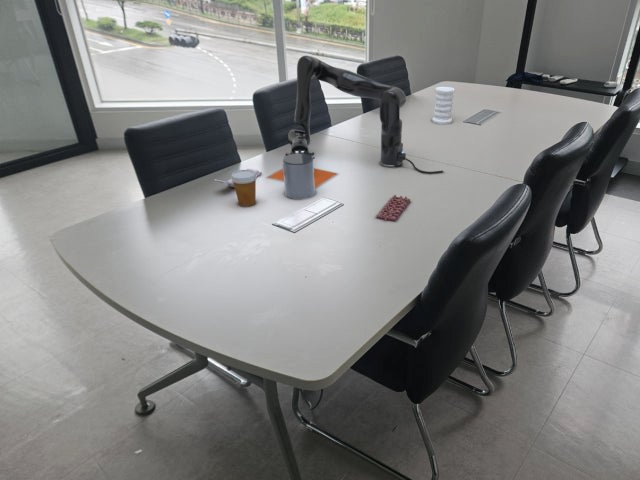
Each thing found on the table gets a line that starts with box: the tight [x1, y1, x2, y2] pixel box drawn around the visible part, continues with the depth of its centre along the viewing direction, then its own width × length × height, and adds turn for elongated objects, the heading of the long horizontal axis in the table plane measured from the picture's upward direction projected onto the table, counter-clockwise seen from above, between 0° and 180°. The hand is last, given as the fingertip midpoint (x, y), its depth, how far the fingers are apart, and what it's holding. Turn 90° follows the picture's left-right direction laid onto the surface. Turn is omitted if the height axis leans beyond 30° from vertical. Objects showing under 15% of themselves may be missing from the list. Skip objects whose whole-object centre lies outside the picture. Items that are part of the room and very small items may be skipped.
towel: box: [268, 168, 338, 188], centre depth 221 cm, size 24×18×1 cm
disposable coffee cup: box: [230, 169, 258, 207], centre depth 194 cm, size 10×10×12 cm
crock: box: [281, 154, 316, 200], centre depth 202 cm, size 12×12×15 cm
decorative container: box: [431, 86, 455, 125], centre depth 289 cm, size 12×12×18 cm
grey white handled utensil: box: [214, 168, 263, 188], centre depth 212 cm, size 6×6×25 cm
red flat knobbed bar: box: [376, 194, 411, 222], centre depth 193 cm, size 7×19×2 cm, turn 159°
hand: (300, 163), depth 211 cm, fingers closed
